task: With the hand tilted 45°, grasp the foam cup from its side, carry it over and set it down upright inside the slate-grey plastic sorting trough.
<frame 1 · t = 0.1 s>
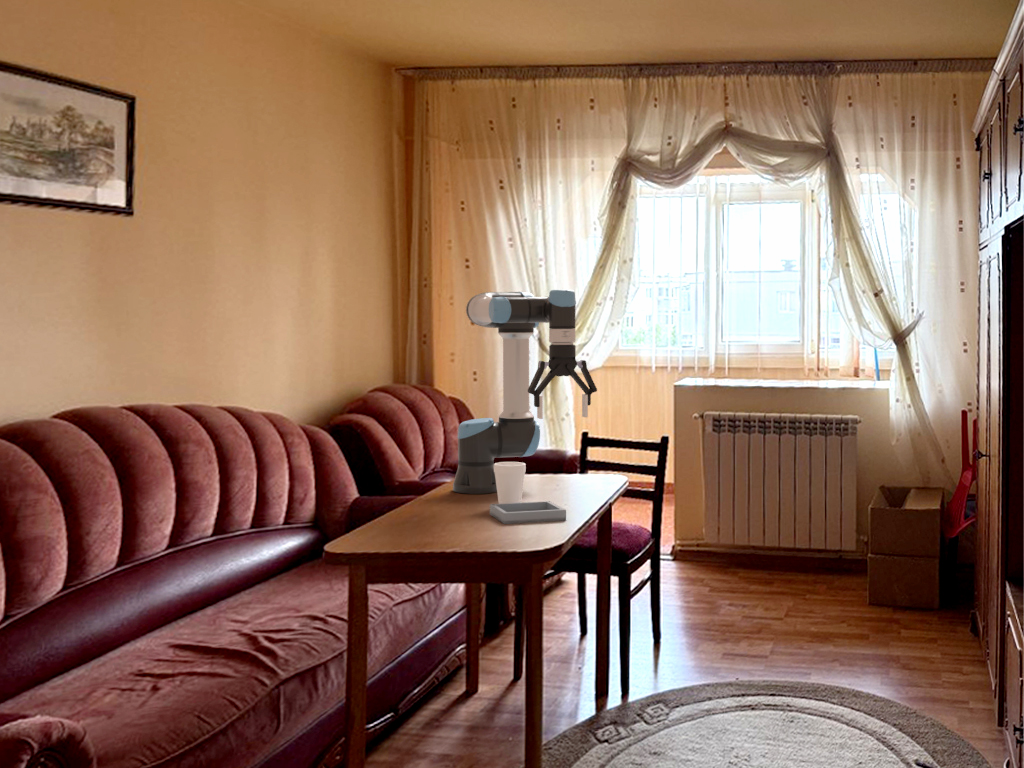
hand: (562, 417, 326), 28 cm above the table, tool pointing down, fingers open, 13 cm apart
foam cup: (509, 507, 341), on the table
sorting trough: (527, 517, 323), on the table
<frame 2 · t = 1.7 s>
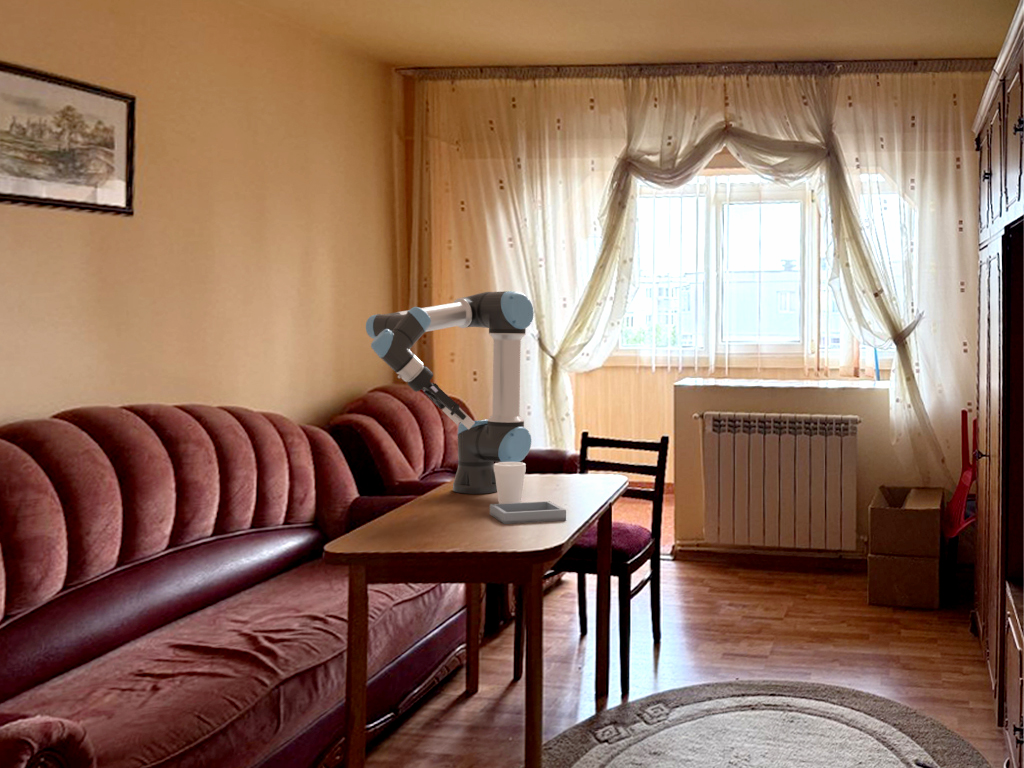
hand: (465, 423, 335), 25 cm above the table, tool tilted 45°, fingers open, 13 cm apart
nothing on the table moved.
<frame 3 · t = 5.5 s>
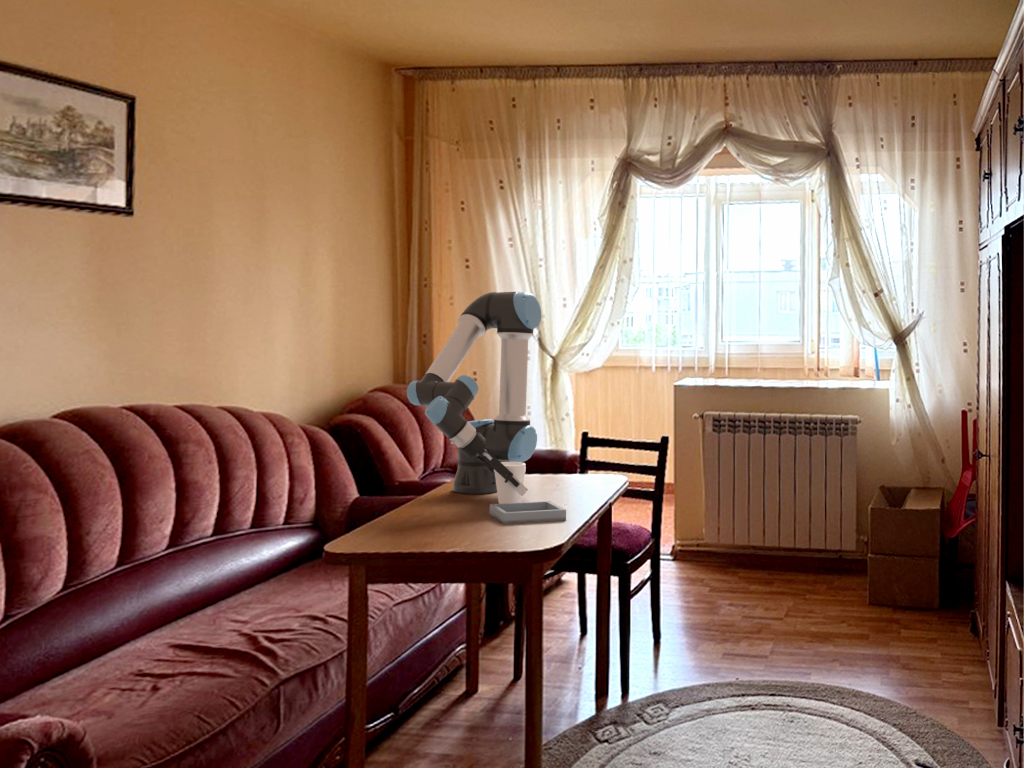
hand: (519, 490, 341), 5 cm above the table, tool tilted 45°, fingers closed on foam cup, 9 cm apart
foam cup: (509, 507, 341), on the table, touching gripper
when the fingers open (7 cm above the table, at t = 11.4 s): foam cup drops 1 cm, resting on sorting trough.
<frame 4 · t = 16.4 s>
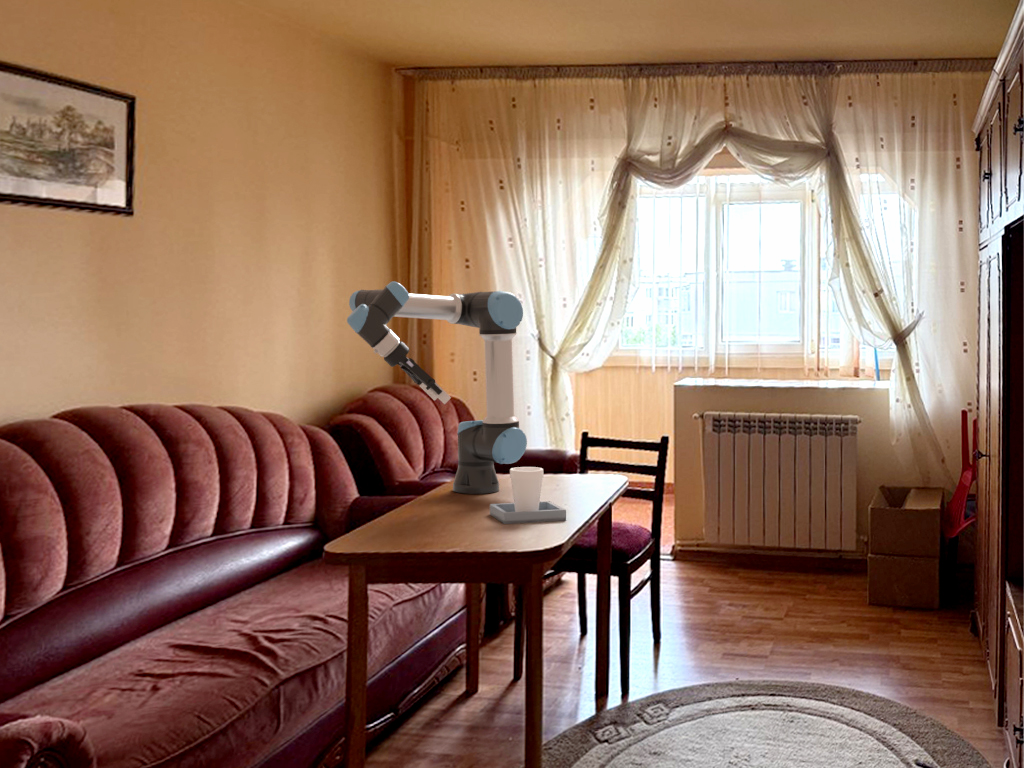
hand: (442, 399, 336), 33 cm above the table, tool tilted 45°, fingers open, 13 cm apart
foam cup: (526, 515, 323), point 1 cm above the table, touching sorting trough
at the end: foam cup inside the target area on the sorting trough (0.2 cm from its centre), point 0.6 cm above the sorting trough's base; foam cup tilted 0°; the gripper is holding nothing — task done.
